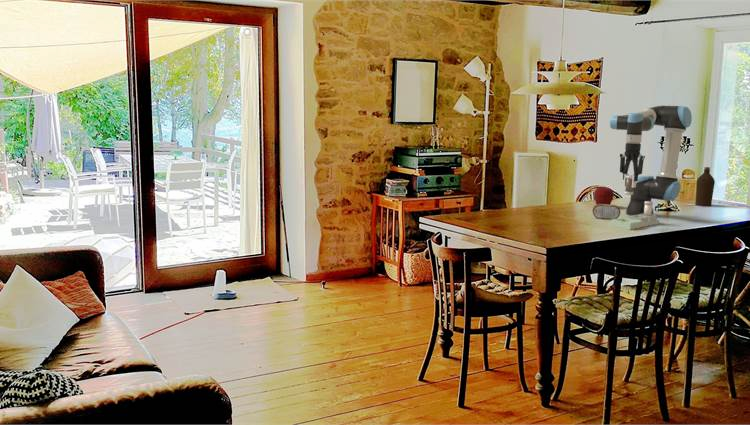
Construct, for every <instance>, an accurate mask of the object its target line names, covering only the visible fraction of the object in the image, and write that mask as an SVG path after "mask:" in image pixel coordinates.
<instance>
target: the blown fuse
mask: <svg viewBox="0 0 750 425" xmlns="http://www.w3.org/2000/svg"><path fill="white" fill-rule="evenodd" d="M632 177H633V174H632V175H630V174H628V175H626V186H625V190H624V195H625V196H626V195H628V196H631V195H633V188H632Z"/></svg>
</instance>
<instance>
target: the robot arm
mask: <svg viewBox="0 0 750 425" xmlns="http://www.w3.org/2000/svg"><path fill="white" fill-rule="evenodd" d="M692 116H693V115H692V111H691V109H690V108H689V107H687V106H683V105H657V106H652V107H647V108H645V109H643V110H642V111H638V112H631V113H628V114H625V115H612V116H611V118H609V127H610V129H612V130H618V131H620V130H621V131H626V137H625V138H626V139H625V148H624V149H625V151H624V152H623V153H619V158H620V160H619V161H620V163H619V164H620V165H619V172H620V173H621V174H622V180H623V185H622V186H623V187H626V175H629V173H628V171H629V169H630V165H631V162H632V165H633V174H632V176H633V177H632V188H633V195H630V200H629V203H628V205H627V207H626V211H625V214H626V215H628V216H632V215H638V214H644V207H645V204H644V203H645V201H652V200H659V201H668V202H669V201H670V202H672V201H673V202H674V201H675V200H676V199H677V198H678V196H679V195H680V192H681V187H682V186H681V184H682V183H681V182H680V181H679V178H678V176H677V168H678V164H679V163H678V162H679V157H680V151H681V144H682V137H683V133H685V132H686V130H687V128H689V127H691V124H692V120H693V118H692ZM654 126H660V127H662V126H663V130H664V131H665V137H664V143H663V150H662V156H661V162H660V163H661V164H660V171H659V173H658V174H657V175H656V176H653V175H642V174H643V169H644V160H645V159H646V156H645V155H642V154H641V148H642V147H641V146H642V144H641V143H642V139H643V138H642V136H643V135H642V134H643V132H648V131H650V130H652V129H653V128H654ZM654 177H655V178H654ZM651 214H652V215H654V210H653V207H652V212H651Z"/></svg>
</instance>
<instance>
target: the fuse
mask: <svg viewBox="0 0 750 425" xmlns="http://www.w3.org/2000/svg"><path fill="white" fill-rule="evenodd" d="M653 203H654V202H653V201H652V200H651V201H645V203H644V204H645V207H644V215H645V216H651V212H652V208H653Z"/></svg>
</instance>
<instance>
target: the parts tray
mask: <svg viewBox="0 0 750 425" xmlns="http://www.w3.org/2000/svg"><path fill="white" fill-rule="evenodd" d="M628 218H629V217H618V218H617V219H612V220H611V219H609V227H612V226H614V227H613V228H617V227H619V228H618V229H623V228H624V229H623V230H628V229H632V230H636V229H635V228H637V229H641V228H640V227H642V228H644V227H643V221H640V220H634V219H628Z"/></svg>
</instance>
